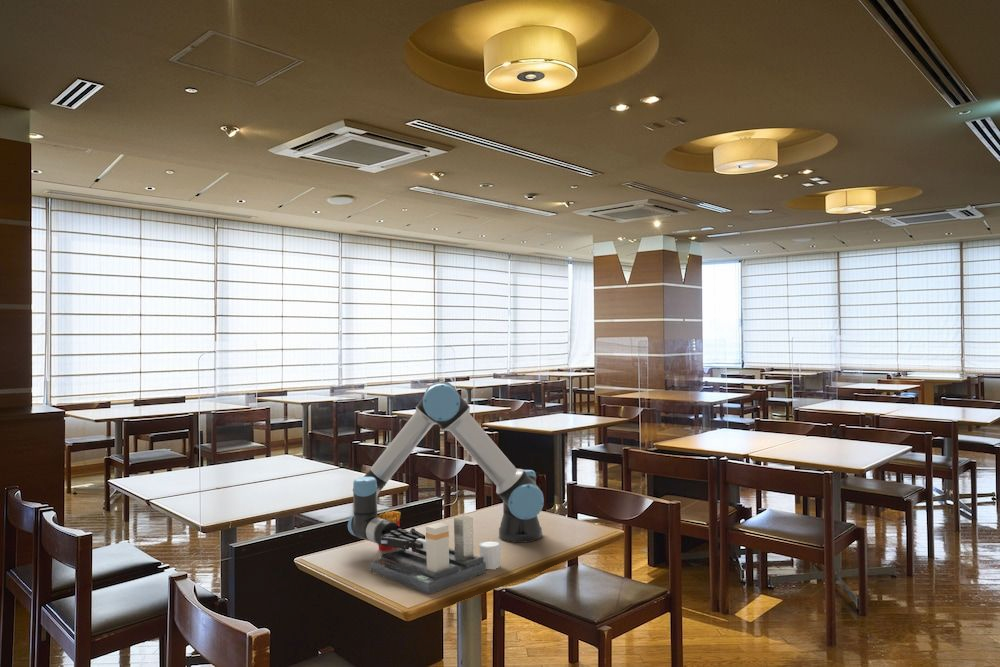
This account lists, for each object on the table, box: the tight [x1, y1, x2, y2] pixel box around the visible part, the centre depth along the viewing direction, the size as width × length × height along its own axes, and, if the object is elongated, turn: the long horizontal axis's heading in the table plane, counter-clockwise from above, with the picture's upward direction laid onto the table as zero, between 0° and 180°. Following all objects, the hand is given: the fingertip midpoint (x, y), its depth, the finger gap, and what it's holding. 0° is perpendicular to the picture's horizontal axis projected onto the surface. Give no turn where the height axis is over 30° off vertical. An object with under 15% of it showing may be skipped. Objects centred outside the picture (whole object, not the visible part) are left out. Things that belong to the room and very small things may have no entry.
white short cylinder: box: [478, 540, 502, 570], centre depth 201 cm, size 7×7×7 cm
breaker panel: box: [370, 515, 487, 595], centre depth 197 cm, size 22×27×16 cm
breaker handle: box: [425, 522, 450, 573], centre depth 189 cm, size 5×4×13 cm
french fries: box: [377, 510, 402, 552], centre depth 222 cm, size 8×4×12 cm, turn 129°
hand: (432, 547), depth 190 cm, fingers closed
